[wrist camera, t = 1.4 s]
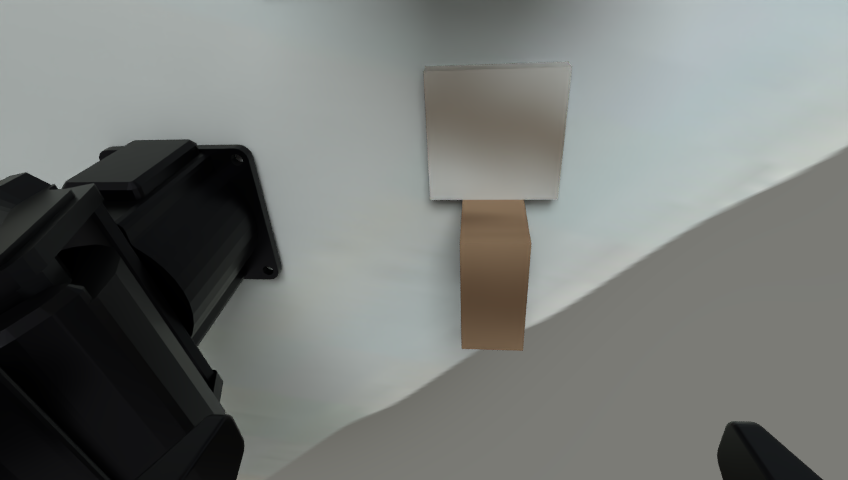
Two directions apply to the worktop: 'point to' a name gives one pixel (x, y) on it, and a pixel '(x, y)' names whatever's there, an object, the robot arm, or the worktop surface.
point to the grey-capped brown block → (495, 179)
